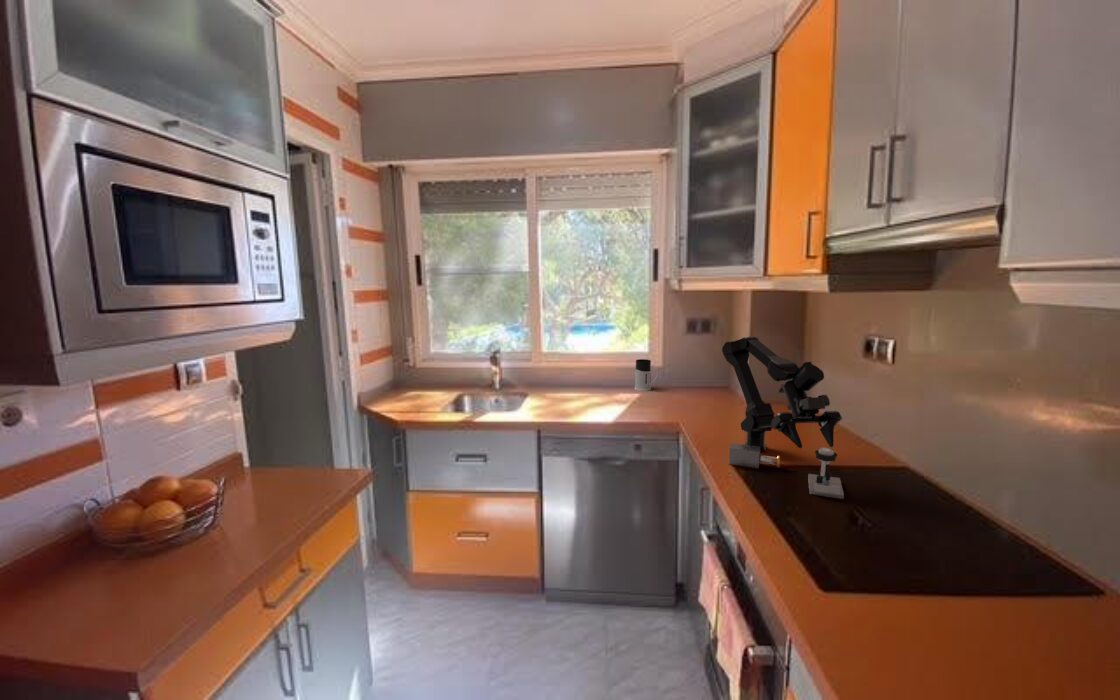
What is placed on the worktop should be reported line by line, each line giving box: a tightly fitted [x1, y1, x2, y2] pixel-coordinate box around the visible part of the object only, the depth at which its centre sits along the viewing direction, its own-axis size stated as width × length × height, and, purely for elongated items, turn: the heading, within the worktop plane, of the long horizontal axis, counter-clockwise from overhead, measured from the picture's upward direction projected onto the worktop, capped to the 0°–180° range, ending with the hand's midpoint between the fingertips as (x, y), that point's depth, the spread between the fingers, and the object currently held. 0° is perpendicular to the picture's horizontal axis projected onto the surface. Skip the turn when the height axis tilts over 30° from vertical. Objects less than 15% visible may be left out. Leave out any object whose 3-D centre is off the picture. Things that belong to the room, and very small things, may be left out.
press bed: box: [807, 473, 845, 500], centre depth 138 cm, size 12×8×3 cm, turn 156°
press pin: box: [759, 454, 781, 468], centre depth 155 cm, size 3×9×3 cm, turn 66°
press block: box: [728, 443, 761, 469], centre depth 157 cm, size 5×8×5 cm, turn 66°
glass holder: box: [633, 358, 660, 392], centre depth 258 cm, size 9×14×15 cm, turn 40°
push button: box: [814, 446, 838, 485], centre depth 138 cm, size 7×5×10 cm
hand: (816, 447), depth 142 cm, fingers open, 9 cm apart
